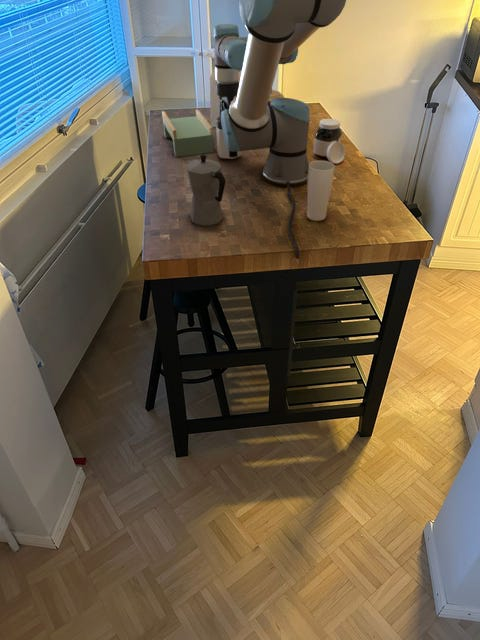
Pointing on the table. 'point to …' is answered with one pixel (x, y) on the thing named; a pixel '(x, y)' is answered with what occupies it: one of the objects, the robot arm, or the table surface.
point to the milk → (215, 100)
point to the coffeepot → (205, 190)
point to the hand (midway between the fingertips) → (229, 151)
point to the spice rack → (189, 134)
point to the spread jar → (329, 141)
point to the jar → (222, 142)
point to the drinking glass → (319, 189)
